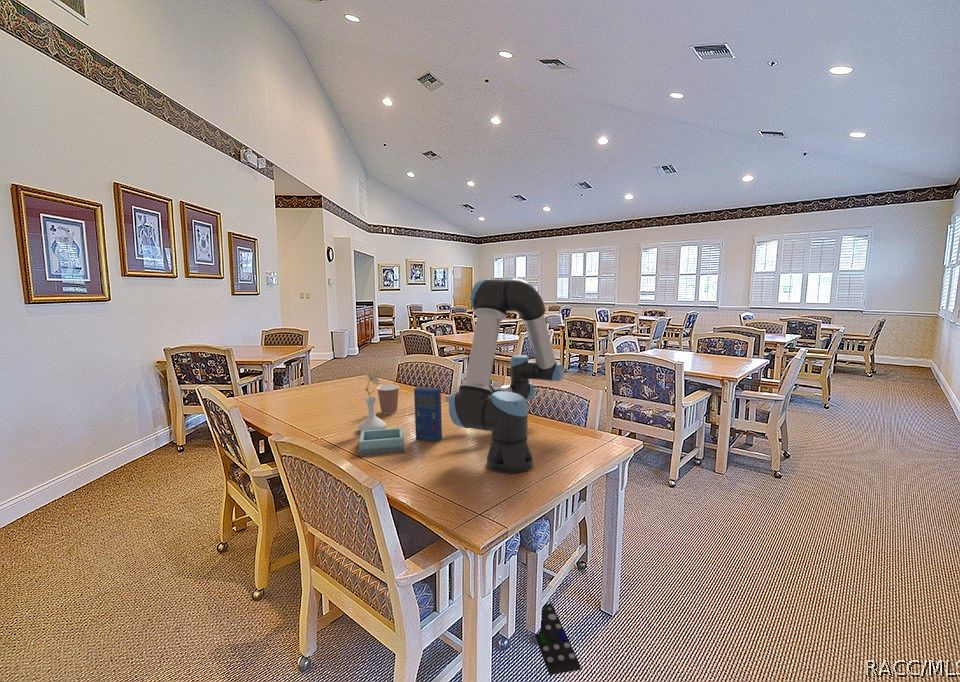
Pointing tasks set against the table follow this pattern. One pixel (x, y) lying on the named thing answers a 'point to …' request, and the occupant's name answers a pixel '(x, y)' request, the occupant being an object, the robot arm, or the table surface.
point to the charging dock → (381, 442)
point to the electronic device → (428, 414)
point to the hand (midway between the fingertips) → (452, 402)
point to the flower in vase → (371, 409)
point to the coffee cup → (388, 398)
